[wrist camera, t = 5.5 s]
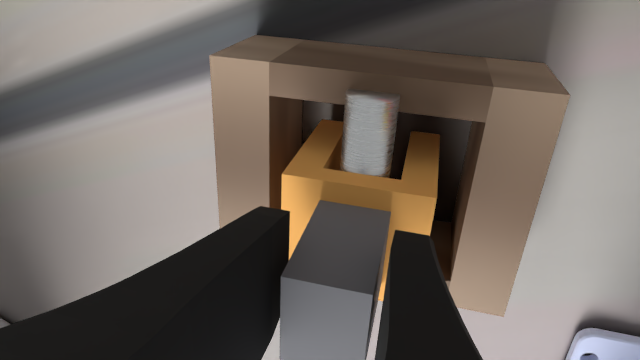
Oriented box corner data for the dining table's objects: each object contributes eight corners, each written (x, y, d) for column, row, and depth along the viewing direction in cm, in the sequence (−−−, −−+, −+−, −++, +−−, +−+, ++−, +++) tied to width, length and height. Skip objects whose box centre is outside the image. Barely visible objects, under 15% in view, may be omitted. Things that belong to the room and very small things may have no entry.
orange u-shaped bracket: (423, 225, 14) (406, 409, 9) (317, 207, 15) (236, 366, 9) (439, 134, 13) (433, 281, 7) (322, 118, 14) (231, 243, 8)
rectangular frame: (495, 251, 15) (506, 339, 12) (258, 210, 16) (209, 276, 13) (545, 63, 12) (579, 107, 9) (255, 34, 14) (193, 62, 10)
